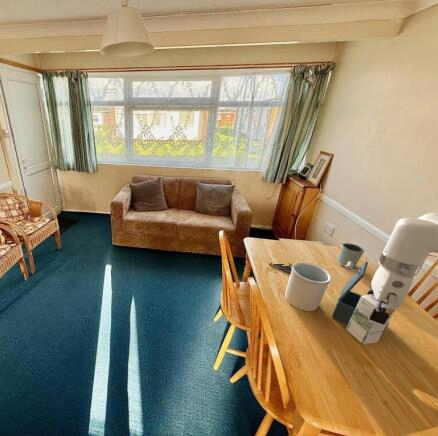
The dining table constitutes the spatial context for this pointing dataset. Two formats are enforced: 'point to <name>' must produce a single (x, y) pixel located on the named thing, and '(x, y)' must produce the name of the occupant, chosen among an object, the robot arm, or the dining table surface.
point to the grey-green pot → (350, 253)
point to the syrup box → (366, 321)
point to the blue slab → (353, 278)
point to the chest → (347, 308)
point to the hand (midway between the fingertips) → (373, 311)
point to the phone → (284, 267)
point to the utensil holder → (306, 286)
